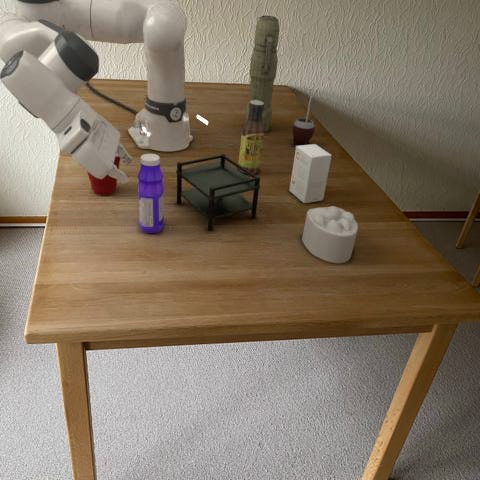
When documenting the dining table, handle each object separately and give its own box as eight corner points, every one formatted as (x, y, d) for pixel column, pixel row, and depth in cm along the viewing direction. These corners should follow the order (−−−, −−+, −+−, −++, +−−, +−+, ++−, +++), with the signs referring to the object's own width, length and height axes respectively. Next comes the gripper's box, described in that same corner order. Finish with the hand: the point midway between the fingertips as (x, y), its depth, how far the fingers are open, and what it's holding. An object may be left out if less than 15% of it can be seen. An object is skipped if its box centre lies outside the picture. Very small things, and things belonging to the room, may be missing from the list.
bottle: (140, 219, 123) (137, 149, 113) (164, 219, 124) (163, 150, 113) (138, 234, 117) (135, 163, 107) (163, 235, 118) (162, 164, 108)
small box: (323, 200, 139) (332, 155, 131) (303, 204, 137) (311, 157, 129) (307, 187, 145) (315, 143, 137) (288, 190, 142) (295, 145, 134)
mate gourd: (297, 149, 167) (304, 102, 158) (285, 140, 173) (292, 94, 164) (316, 147, 170) (324, 101, 161) (304, 138, 175) (312, 93, 166)
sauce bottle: (243, 176, 147) (249, 106, 135) (234, 167, 152) (240, 99, 140) (263, 174, 150) (271, 105, 138) (254, 165, 154) (261, 98, 142)
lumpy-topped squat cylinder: (335, 231, 126) (342, 199, 121) (361, 260, 117) (370, 227, 111) (297, 235, 123) (302, 203, 118) (320, 265, 114) (328, 232, 108)
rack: (175, 203, 131) (176, 162, 125) (221, 192, 138) (223, 153, 132) (209, 231, 121) (211, 189, 115) (256, 218, 128) (261, 177, 122)
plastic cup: (129, 199, 131) (126, 154, 124) (85, 201, 128) (80, 155, 121) (124, 180, 139) (121, 137, 132) (82, 182, 136) (77, 138, 129)
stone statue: (264, 121, 186) (276, 13, 164) (274, 134, 177) (288, 21, 156) (240, 122, 183) (249, 12, 162) (249, 134, 174) (260, 20, 153)
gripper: (75, 117, 114) (122, 160, 121) (58, 154, 98) (113, 201, 105) (94, 98, 112) (141, 143, 119) (79, 132, 96) (135, 182, 103)
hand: (128, 171), depth 112 cm, fingers open, 8 cm apart
